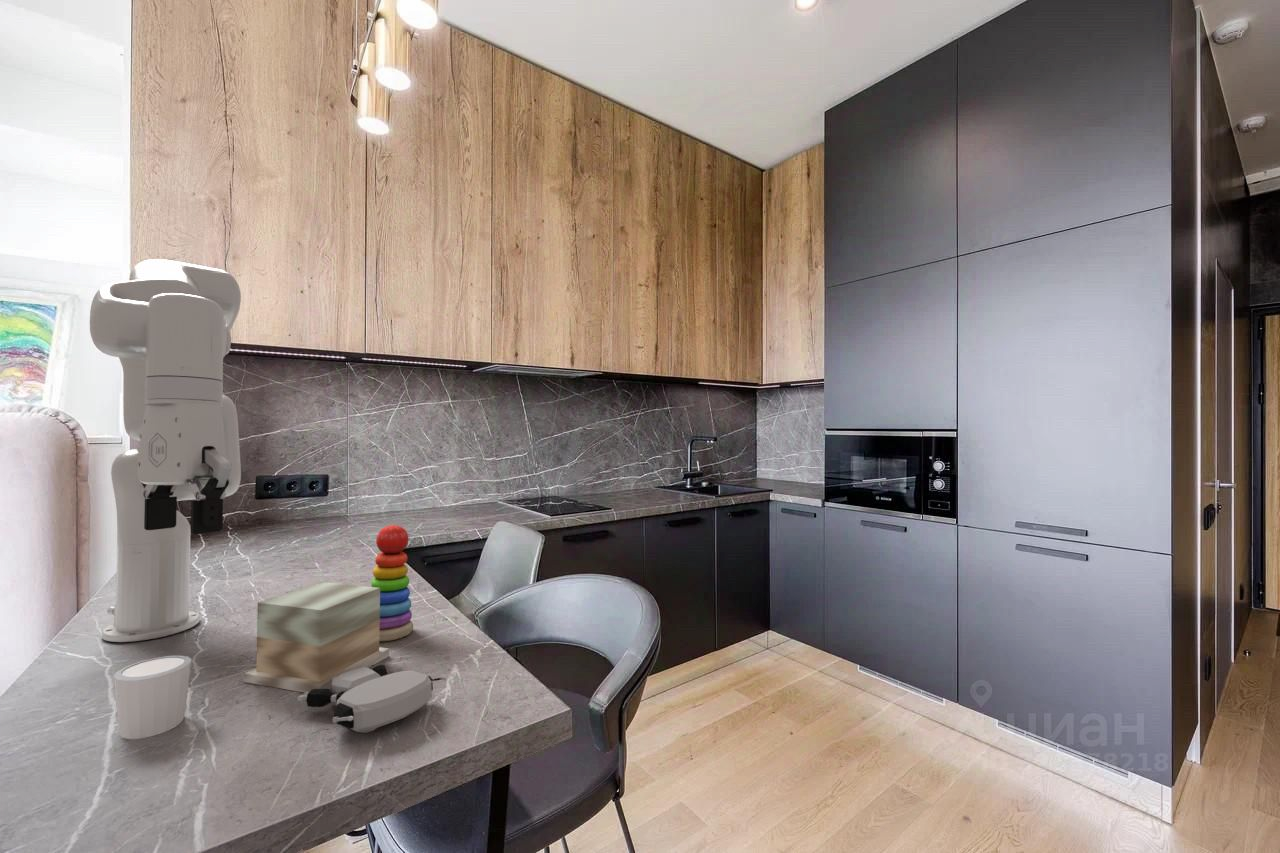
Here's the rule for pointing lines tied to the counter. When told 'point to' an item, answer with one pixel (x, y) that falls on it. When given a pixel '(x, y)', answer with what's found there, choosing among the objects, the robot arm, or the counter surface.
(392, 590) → the stacking toy
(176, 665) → the shot glass
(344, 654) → the patterned box
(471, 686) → the counter surface
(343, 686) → the robot toy
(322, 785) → the counter surface
